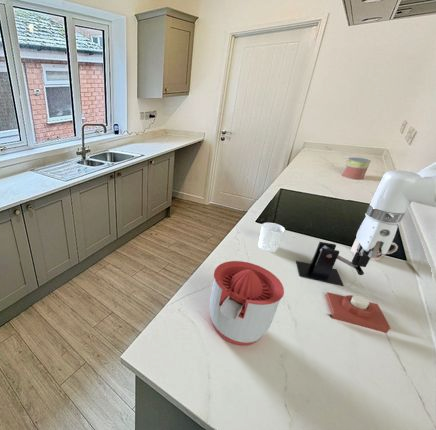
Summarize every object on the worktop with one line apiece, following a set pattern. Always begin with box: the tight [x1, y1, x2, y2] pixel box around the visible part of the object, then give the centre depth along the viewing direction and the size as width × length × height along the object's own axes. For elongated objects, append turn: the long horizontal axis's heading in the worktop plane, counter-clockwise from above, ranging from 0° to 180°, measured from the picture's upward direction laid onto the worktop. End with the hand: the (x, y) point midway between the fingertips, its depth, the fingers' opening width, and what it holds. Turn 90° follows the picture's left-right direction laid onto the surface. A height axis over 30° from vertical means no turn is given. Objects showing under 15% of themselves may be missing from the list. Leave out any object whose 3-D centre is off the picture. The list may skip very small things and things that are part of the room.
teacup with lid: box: [350, 238, 399, 261], centre depth 97 cm, size 12×9×12 cm
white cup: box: [257, 222, 286, 253], centre depth 103 cm, size 8×8×10 cm
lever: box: [320, 245, 365, 276], centre depth 85 cm, size 12×6×2 cm, turn 65°
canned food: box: [342, 157, 372, 180], centre depth 178 cm, size 11×11×12 cm
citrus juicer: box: [209, 260, 285, 347], centre depth 67 cm, size 16×17×20 cm
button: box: [350, 295, 370, 309], centre depth 73 cm, size 4×4×2 cm
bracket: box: [295, 241, 345, 287], centre depth 88 cm, size 12×9×12 cm
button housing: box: [325, 291, 391, 334], centre depth 74 cm, size 12×9×4 cm
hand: (358, 264), depth 84 cm, fingers closed
